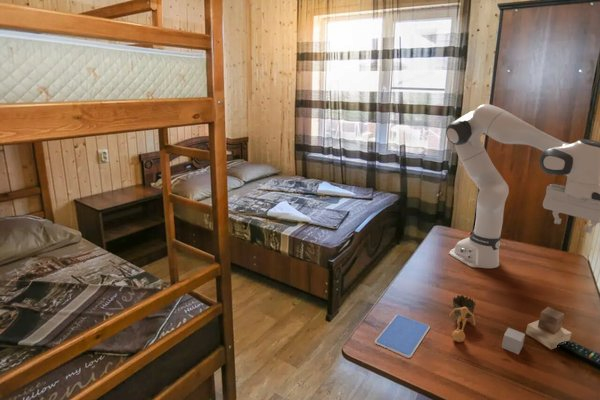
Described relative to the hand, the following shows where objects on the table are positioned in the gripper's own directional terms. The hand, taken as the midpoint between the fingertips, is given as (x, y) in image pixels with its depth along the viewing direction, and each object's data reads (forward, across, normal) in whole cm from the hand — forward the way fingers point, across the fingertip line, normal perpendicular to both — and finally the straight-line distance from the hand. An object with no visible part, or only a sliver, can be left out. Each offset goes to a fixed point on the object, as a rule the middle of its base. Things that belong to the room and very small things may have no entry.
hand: (572, 227), depth 132 cm
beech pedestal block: (+34, +6, -16) cm, 39 cm away
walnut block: (+30, +6, -16) cm, 35 cm away
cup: (+34, -16, -32) cm, 50 cm away
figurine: (+34, -10, -42) cm, 55 cm away
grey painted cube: (+34, +2, -31) cm, 46 cm away
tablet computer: (+35, -22, -56) cm, 70 cm away
